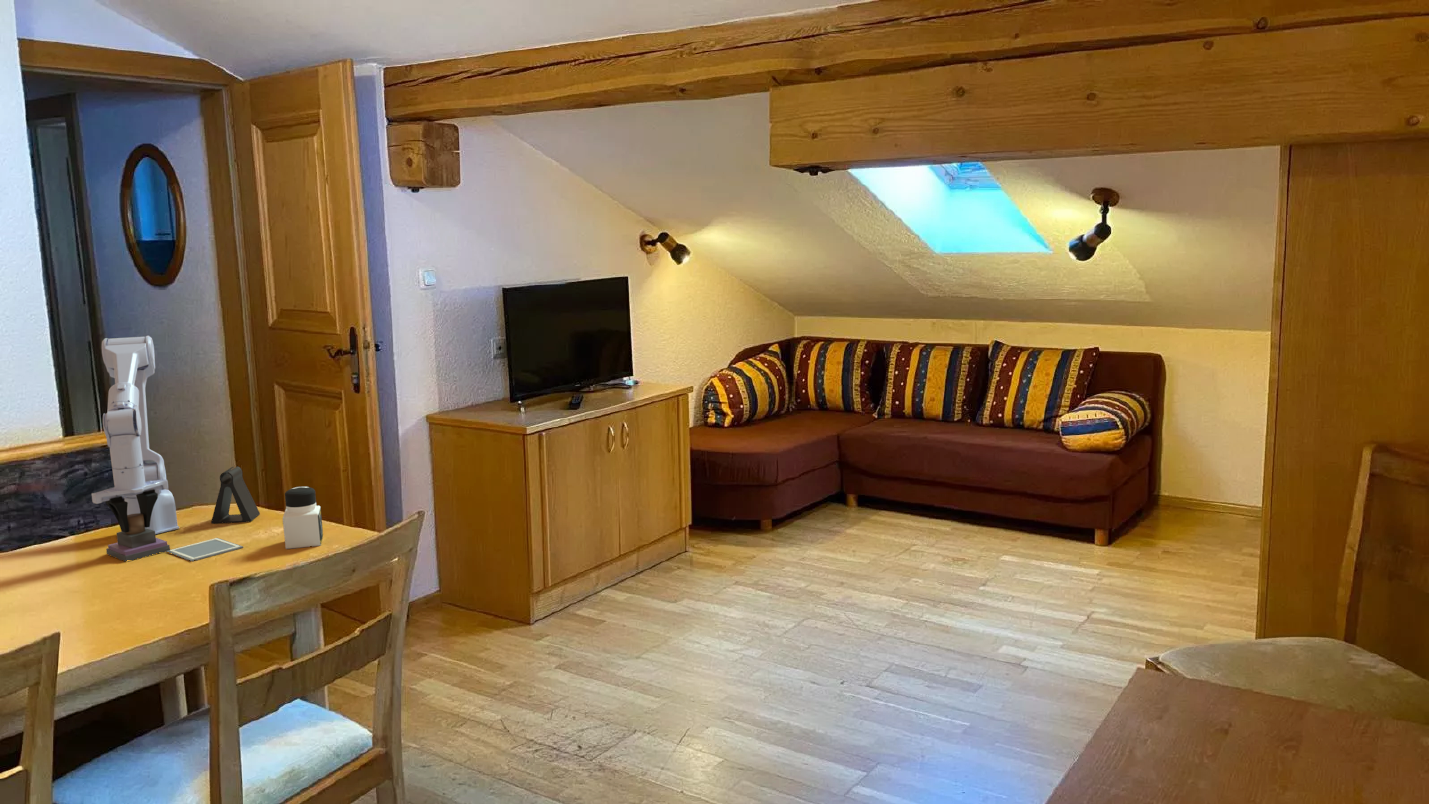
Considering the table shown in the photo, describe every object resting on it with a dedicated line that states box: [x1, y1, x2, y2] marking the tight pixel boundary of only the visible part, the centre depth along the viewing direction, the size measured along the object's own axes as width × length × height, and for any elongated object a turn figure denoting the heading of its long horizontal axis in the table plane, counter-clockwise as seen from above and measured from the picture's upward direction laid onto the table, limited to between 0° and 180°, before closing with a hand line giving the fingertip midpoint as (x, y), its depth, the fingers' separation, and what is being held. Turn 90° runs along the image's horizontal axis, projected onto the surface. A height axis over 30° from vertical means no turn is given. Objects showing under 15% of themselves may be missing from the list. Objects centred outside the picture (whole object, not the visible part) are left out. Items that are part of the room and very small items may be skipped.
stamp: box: [116, 513, 157, 549], centre depth 226 cm, size 5×6×6 cm
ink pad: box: [105, 537, 171, 562], centre depth 226 cm, size 9×9×2 cm
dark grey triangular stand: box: [210, 465, 261, 525], centre depth 249 cm, size 9×6×12 cm, turn 94°
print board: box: [165, 537, 244, 562], centre depth 227 cm, size 11×11×1 cm
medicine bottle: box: [282, 486, 324, 550], centre depth 229 cm, size 7×7×12 cm
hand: (135, 529), depth 226 cm, fingers closed on stamp, 4 cm apart
